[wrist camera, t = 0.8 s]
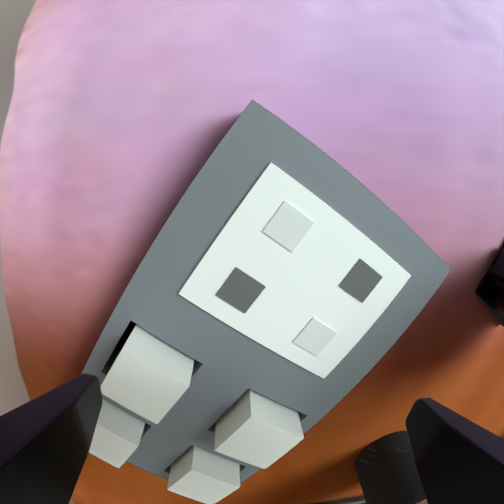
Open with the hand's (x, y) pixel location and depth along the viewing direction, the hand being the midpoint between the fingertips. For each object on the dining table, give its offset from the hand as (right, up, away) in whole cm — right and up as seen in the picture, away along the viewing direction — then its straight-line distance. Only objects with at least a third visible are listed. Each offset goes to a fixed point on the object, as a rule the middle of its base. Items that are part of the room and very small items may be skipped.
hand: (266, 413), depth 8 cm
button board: (-2, -2, +13) cm, 14 cm away
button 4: (0, -7, +13) cm, 14 cm away
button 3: (-4, -12, +14) cm, 19 cm away
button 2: (-7, -2, +11) cm, 13 cm away
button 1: (-11, -8, +12) cm, 18 cm away
